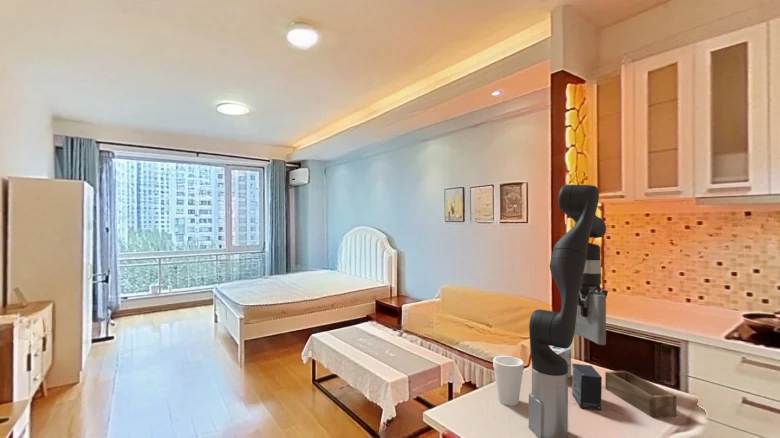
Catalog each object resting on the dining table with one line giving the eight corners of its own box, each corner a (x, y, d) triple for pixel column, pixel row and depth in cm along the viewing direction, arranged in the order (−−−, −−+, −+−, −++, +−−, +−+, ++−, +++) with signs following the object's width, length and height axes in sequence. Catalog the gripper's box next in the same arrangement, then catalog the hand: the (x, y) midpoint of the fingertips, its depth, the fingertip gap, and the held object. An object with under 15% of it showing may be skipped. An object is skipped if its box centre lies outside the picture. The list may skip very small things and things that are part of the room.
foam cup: (487, 400, 124) (487, 360, 124) (502, 391, 130) (502, 353, 131) (514, 411, 117) (514, 368, 117) (528, 401, 123) (529, 361, 124)
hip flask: (571, 332, 152) (571, 282, 152) (580, 332, 153) (580, 282, 153) (600, 345, 136) (600, 289, 137) (610, 344, 137) (610, 289, 137)
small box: (603, 411, 118) (603, 376, 118) (580, 408, 119) (580, 375, 119) (592, 395, 128) (592, 364, 128) (571, 394, 129) (571, 362, 129)
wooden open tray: (652, 417, 113) (652, 397, 114) (605, 388, 133) (605, 371, 133) (676, 416, 115) (676, 396, 115) (625, 387, 134) (625, 370, 135)
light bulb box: (554, 370, 150) (554, 343, 150) (572, 376, 144) (572, 347, 144) (540, 377, 143) (540, 348, 143) (558, 383, 138) (558, 353, 138)
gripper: (578, 273, 140) (578, 319, 140) (613, 272, 142) (613, 318, 142) (566, 270, 148) (566, 315, 147) (599, 270, 150) (599, 314, 149)
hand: (589, 316), depth 145 cm, fingers closed on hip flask, 4 cm apart
